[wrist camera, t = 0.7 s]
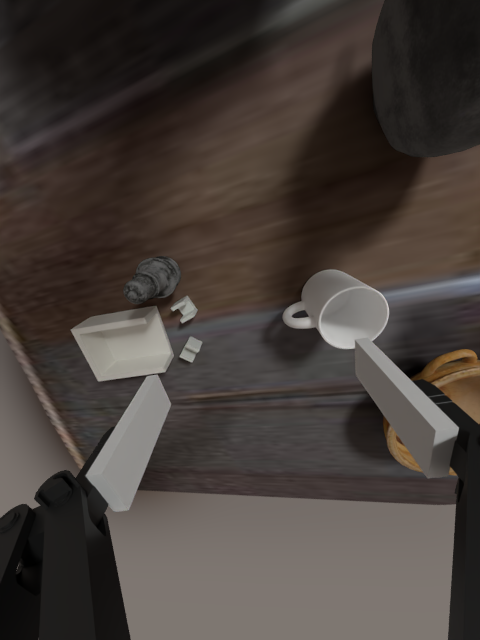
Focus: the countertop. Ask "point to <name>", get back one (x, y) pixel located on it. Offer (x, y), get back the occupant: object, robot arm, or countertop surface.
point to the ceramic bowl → (455, 382)
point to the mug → (339, 309)
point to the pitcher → (428, 75)
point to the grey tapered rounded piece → (153, 280)
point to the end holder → (125, 343)
